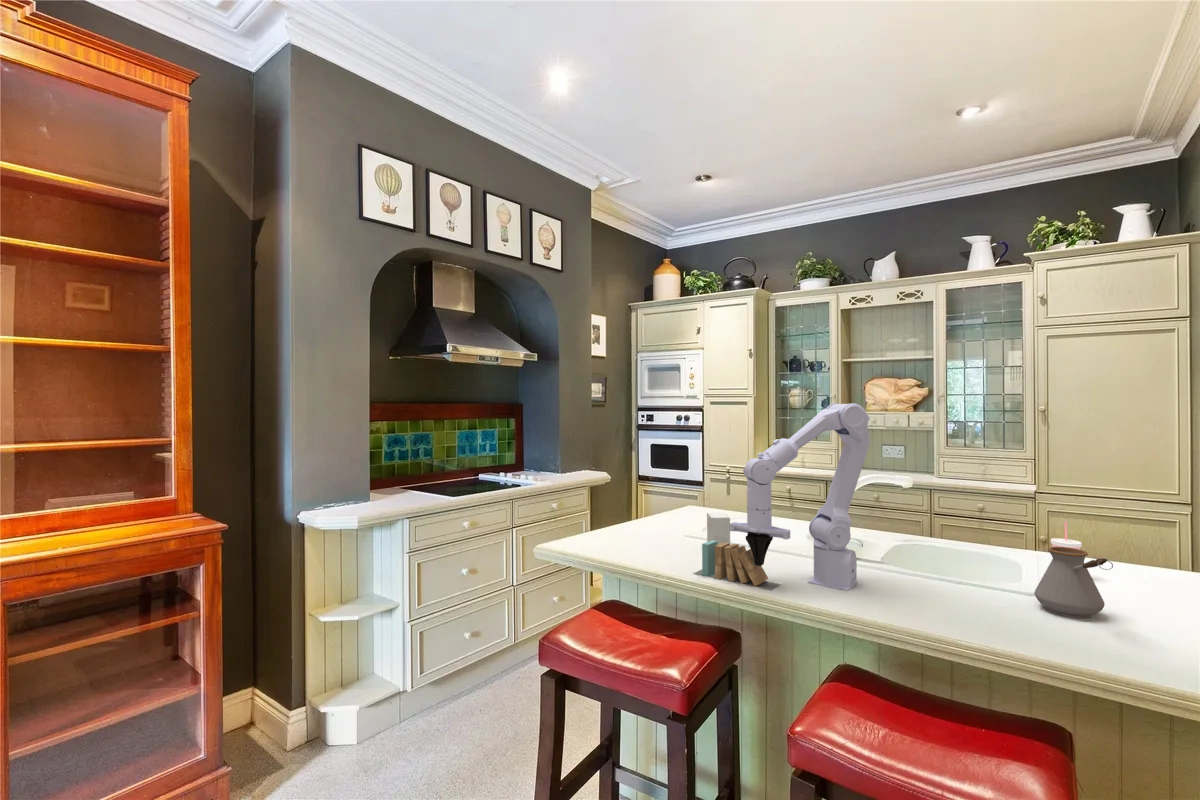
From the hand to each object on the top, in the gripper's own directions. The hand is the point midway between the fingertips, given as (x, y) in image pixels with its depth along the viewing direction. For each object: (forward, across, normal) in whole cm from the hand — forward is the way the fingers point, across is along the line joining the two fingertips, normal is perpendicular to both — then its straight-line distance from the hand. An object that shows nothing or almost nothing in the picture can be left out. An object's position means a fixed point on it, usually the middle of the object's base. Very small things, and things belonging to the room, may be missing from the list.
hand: (759, 564), depth 139 cm
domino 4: (+4, +1, 0) cm, 4 cm away
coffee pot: (+5, +60, +19) cm, 63 cm away
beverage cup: (+5, +58, +54) cm, 79 cm away
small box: (+5, -23, +24) cm, 34 cm away
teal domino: (+5, -13, 0) cm, 14 cm away
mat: (+5, -6, 0) cm, 8 cm away
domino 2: (+4, -6, 0) cm, 8 cm away
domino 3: (+4, -3, 0) cm, 5 cm away
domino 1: (+5, -10, 0) cm, 11 cm away
